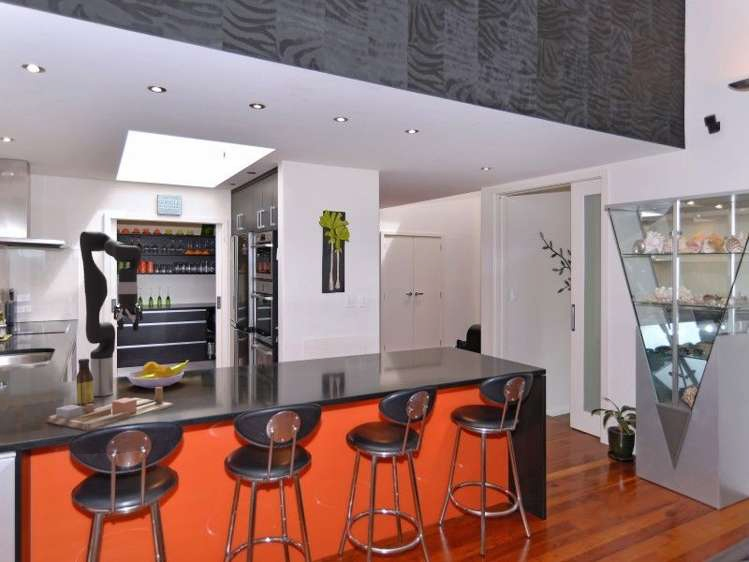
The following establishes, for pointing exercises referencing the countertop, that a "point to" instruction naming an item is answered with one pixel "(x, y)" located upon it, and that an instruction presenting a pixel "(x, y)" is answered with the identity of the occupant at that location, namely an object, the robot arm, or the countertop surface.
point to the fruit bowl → (157, 375)
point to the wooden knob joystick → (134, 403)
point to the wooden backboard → (105, 415)
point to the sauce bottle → (84, 383)
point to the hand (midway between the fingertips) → (128, 330)
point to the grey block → (73, 411)
